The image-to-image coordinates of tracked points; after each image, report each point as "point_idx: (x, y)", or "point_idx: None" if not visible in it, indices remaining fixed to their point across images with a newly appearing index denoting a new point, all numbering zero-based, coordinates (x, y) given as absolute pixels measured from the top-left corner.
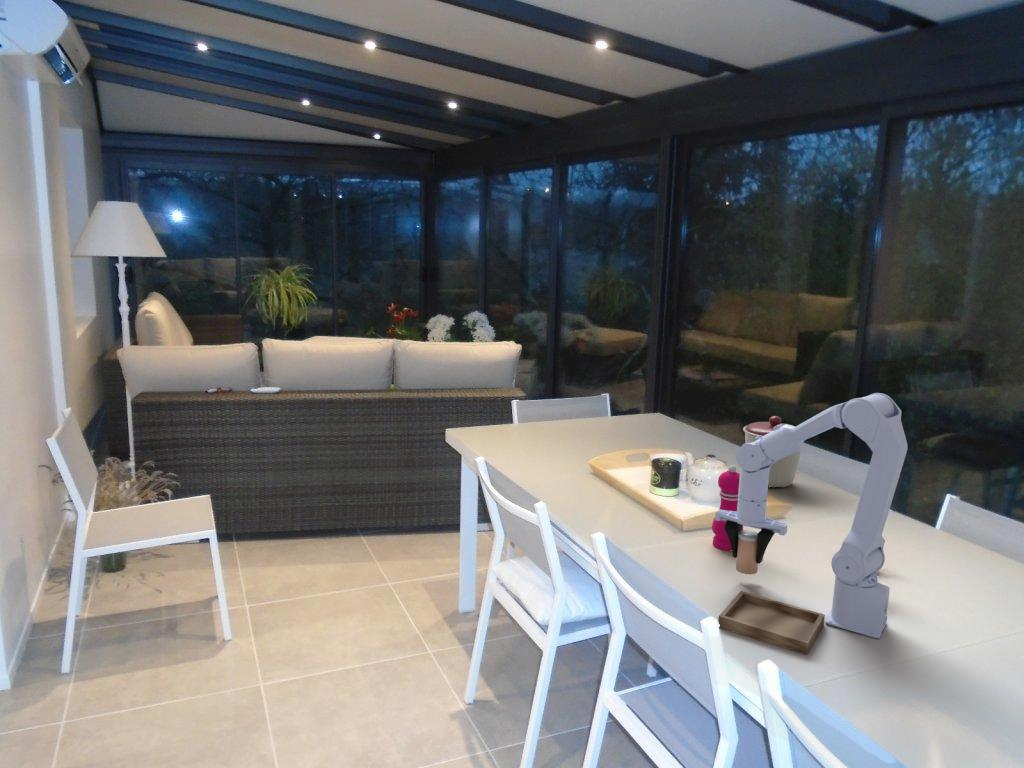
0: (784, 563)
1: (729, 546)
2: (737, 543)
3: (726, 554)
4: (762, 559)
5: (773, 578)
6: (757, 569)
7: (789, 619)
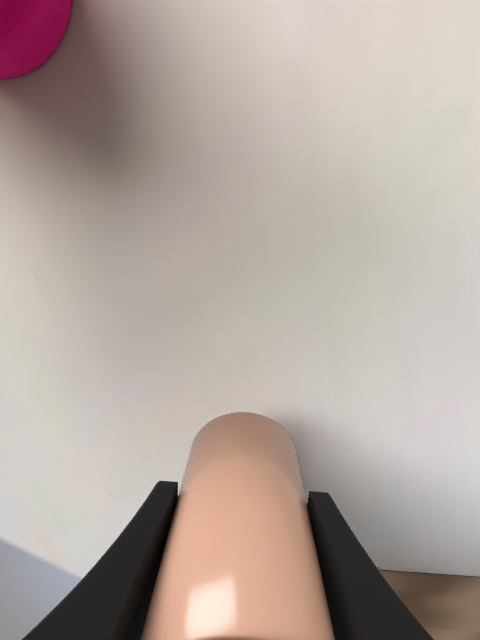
0: (382, 60)
1: (21, 53)
2: (146, 602)
3: (54, 142)
4: (332, 502)
5: (347, 316)
6: (297, 459)
7: (440, 630)
